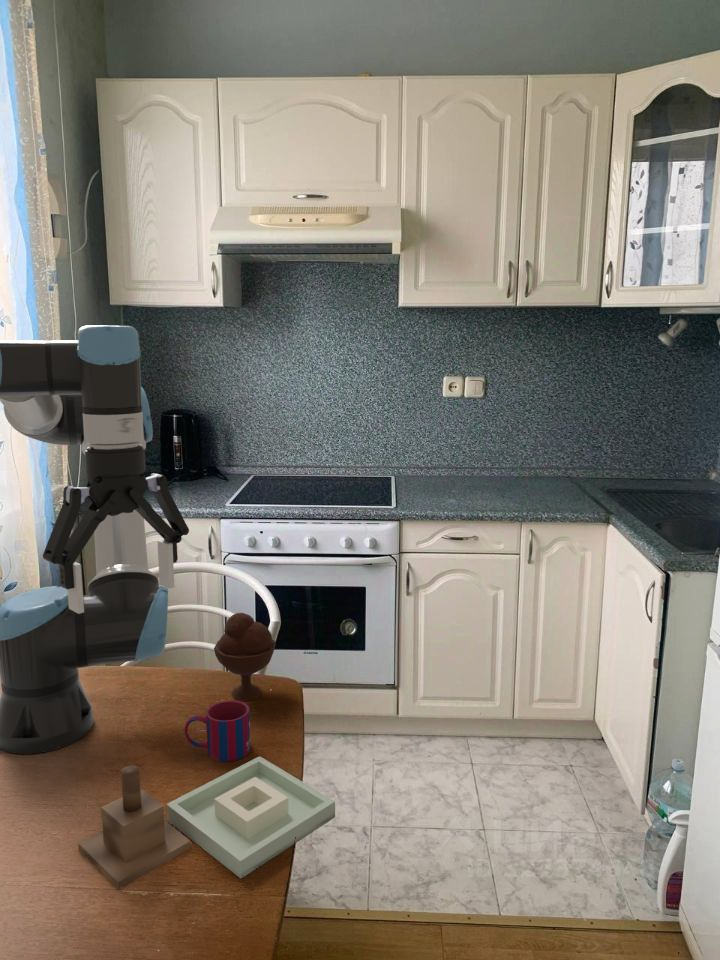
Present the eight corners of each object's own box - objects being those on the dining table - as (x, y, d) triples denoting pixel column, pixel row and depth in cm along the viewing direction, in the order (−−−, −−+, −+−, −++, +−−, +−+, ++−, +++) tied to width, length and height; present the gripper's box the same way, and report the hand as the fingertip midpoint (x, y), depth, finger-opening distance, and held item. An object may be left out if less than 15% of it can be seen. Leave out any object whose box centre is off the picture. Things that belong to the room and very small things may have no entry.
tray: (167, 820, 100) (166, 804, 99) (259, 770, 111) (259, 756, 111) (240, 878, 89) (240, 861, 89) (335, 817, 101) (335, 801, 100)
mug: (250, 760, 114) (248, 720, 113) (183, 765, 113) (181, 724, 111) (251, 737, 120) (250, 699, 119) (188, 741, 119) (186, 702, 118)
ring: (247, 839, 95) (246, 821, 95) (214, 815, 100) (214, 798, 99) (288, 814, 100) (288, 797, 100) (255, 792, 105) (255, 776, 104)
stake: (78, 849, 94) (72, 771, 92) (148, 813, 101) (144, 740, 99) (118, 889, 87) (113, 805, 85) (190, 847, 94) (187, 769, 92)
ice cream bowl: (210, 707, 130) (207, 627, 127) (224, 679, 141) (221, 604, 138) (270, 709, 130) (269, 628, 127) (279, 680, 141) (278, 605, 138)
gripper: (32, 458, 86) (46, 630, 90) (210, 438, 104) (214, 582, 108) (6, 451, 91) (20, 614, 95) (179, 433, 109) (185, 571, 113)
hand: (123, 597), depth 102 cm, fingers open, 13 cm apart
